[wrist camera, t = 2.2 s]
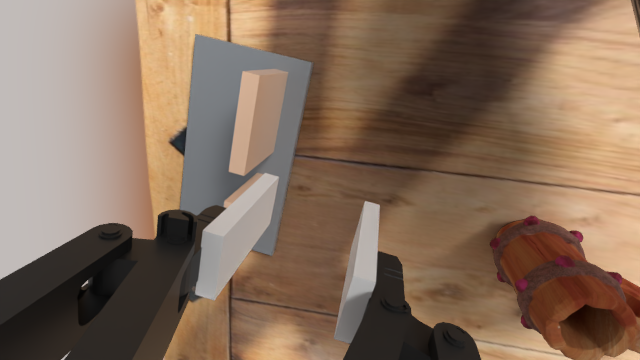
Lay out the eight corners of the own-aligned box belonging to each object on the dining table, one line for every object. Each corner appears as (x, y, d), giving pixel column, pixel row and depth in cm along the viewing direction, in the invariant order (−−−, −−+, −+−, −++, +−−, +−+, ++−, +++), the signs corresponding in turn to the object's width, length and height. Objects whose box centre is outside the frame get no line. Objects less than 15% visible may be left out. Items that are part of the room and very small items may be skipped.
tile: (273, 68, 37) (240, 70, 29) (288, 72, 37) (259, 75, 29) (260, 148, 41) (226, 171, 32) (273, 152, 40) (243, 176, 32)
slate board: (201, 34, 39) (195, 34, 38) (314, 62, 38) (311, 62, 37) (183, 223, 47) (178, 227, 46) (274, 251, 46) (272, 255, 45)
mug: (469, 258, 42) (511, 358, 28) (499, 197, 39) (562, 274, 25) (595, 298, 40) (705, 425, 26) (635, 239, 38) (783, 345, 24)
